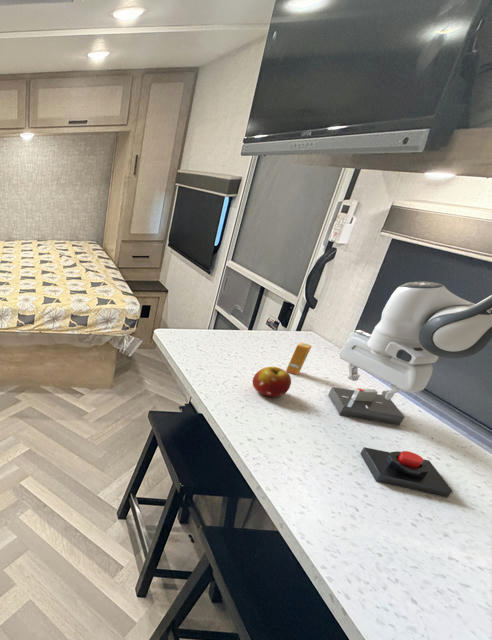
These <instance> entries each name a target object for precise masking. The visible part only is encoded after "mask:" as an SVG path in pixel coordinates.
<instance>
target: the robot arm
mask: <svg viewBox="0 0 492 640" xmlns="http://www.w3.org/2000/svg"><path fill="white" fill-rule="evenodd" d="M491 340H492V294H491V295H489V296H488V297H486V298H484V299H482V300H481V301H479V302H478V303H473V302H471V301H469V300H466V299H465V298H461V297H460V296H458V295H456V294H454V293H453V292H451V291H450V290H448V289H447V287H446V286H445V285H444V284H442V283H439V282H434V281H410V282H406V283H404V284H400V285H399V286H398V287H397V288H396V289H395V290H394V291H393V292H392V294H391V295H390V297H389V299H388V300H387V301H386V303H385V306H384V307H383V310H382V312H381V317H380V320H379V322H378V323H377V324H376V325H375V326H374V329H373V330H372V333H369V332H366V331H364V330H361V329H357V330H354V331H351V333H349V336H348V338H347V340H346V341H345V343H344V344H343V346H342V347H341V349H340V351H339V353H338V356H339V359H341V360H343V361H344V362H345V363H346V362H347V363H348V371H349V374H348V377H347V379H348V380H350V381H353V382H357V381H358V380H359V378H360V377H361V374H359V373H358V372H359V371H358V369H360V370H362V371H364V372H366V373H368V374H370V375H372V376H374V377H376V378H378V379H380V380H382V381H384V382H386V383H388V384H390V390H389V389H388V390H387V389H386V390H382V392H381V394H380V395H381V396H382V397H383V398H385V399H391V400H392V399H393V398H394V397H393V396H394V395H395V394H397V393H399V392H401V391H404V392H406V393H418V392H422V391H423V390H424V389H425V388H426V387H427V385H428V383H429V381H430V379H431V377H432V375H433V372H434V368H433V365H432V364H434V363H436V362H437V361H438V359H439V357H441V358H443V359H444V358H445V359H463V358H468V357H471V356H473V355H475V354H477V353H480V352H481V351H482V350H483V349H484V348H485V347H486V346H487V345H488V344H489V343H490V341H491Z"/></svg>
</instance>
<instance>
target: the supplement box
mask: <svg viewBox="0 0 492 640" xmlns="http://www.w3.org/2000/svg"><path fill="white" fill-rule="evenodd" d="M311 348H312V345H311V344H308V343H305V342H300V343H299V344H297V345H296V347H295V348H294V349H295V350H294V351H293V354H292V356H291V358H290V360H289V363H288V365H287V367H286V370H285V371H286V372H287V373H288V374H292V375H295V376H297V375H298V374H299V373H300V372H301V370H302V367H303V366H304V363H305V362H306V359H307V357H308V355H309V353H310V350H312V349H311Z"/></svg>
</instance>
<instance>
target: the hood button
mask: <svg viewBox="0 0 492 640" xmlns="http://www.w3.org/2000/svg"><path fill="white" fill-rule="evenodd" d="M400 452H401V454H400V455H399V457H398V460H399V461H400V462H401V463H403V464H405V465H407V466H410V467H414V468H419V467H420V465H421V464H422V462H423V459H424V458H423V457H422V456H421V455H419V454H417V453H414V452H412V451H408V450H403V451H400Z"/></svg>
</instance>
